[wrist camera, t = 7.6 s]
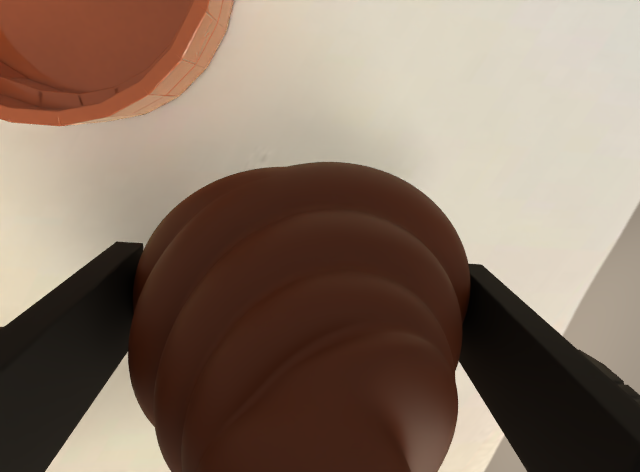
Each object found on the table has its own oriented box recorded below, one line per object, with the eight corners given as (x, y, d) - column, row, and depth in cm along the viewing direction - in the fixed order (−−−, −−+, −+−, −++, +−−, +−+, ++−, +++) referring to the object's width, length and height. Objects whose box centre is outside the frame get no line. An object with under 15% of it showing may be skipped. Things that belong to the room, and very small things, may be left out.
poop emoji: (452, 138, 11) (1158, 300, 2) (444, 362, 14) (699, 821, 5) (122, 174, 10) (-766, 531, 2) (188, 393, 14) (-13, 922, 5)
